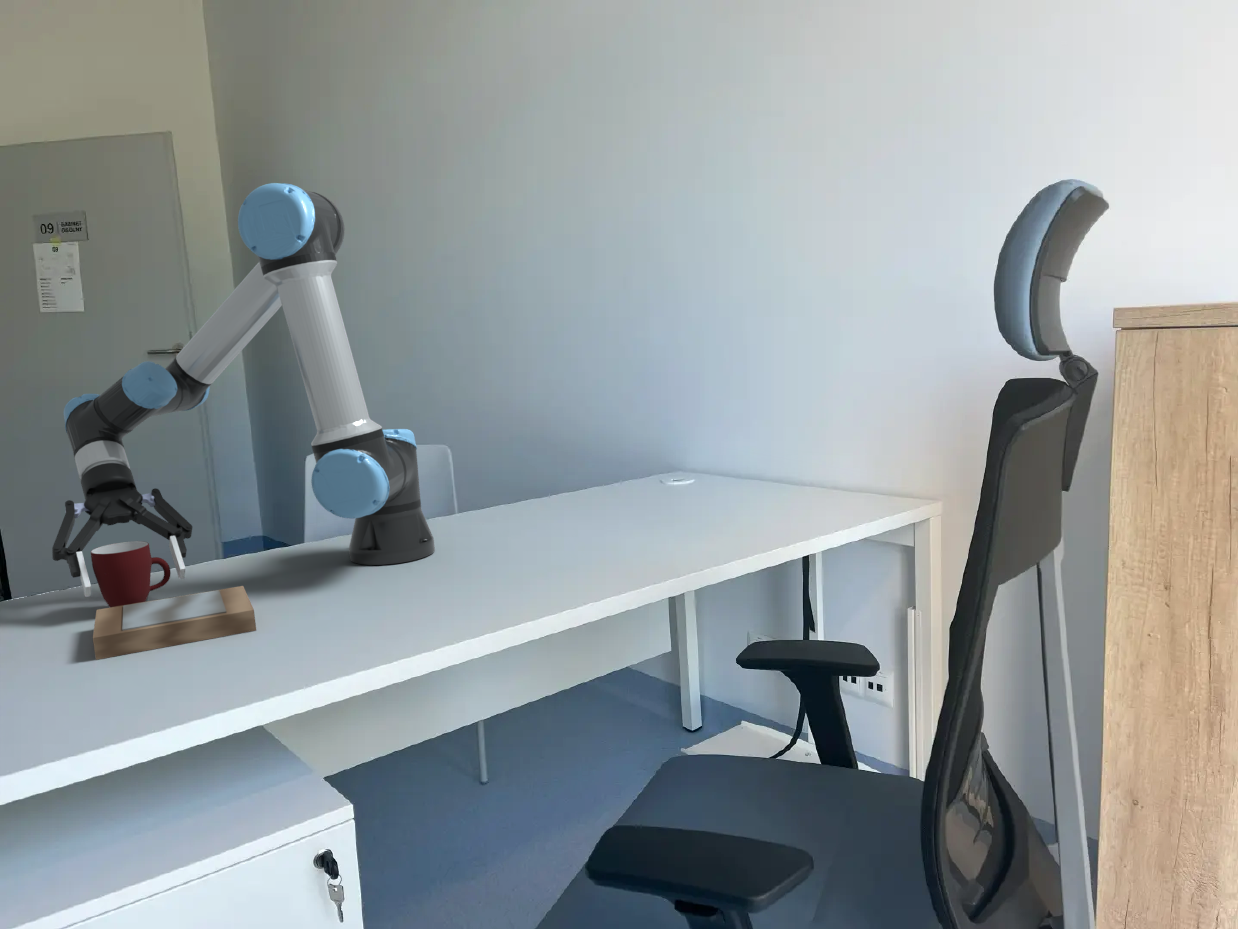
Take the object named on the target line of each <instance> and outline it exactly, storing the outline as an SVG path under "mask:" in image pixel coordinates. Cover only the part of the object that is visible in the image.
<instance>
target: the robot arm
mask: <svg viewBox="0 0 1238 929" xmlns="http://www.w3.org/2000/svg"><path fill="white" fill-rule="evenodd" d="M237 216H238V217H237V228H238V232H239V235H240V238H241V241H242V242H243V243H244V245H245V246H246V247H247V248H248V249H249V250H250V251H251V252H252V253H253V254H255V255H256V256H257V259H258V262H257V264H256V265H254V267H253V268H252V269H251V270H250V271H249V273H248V274H246V276H245V277H244V278H243V280H242V281H240V283H239V284H238V285H236V287H235V288H234V290H233V291H232V292H231V293H230V294H229V295H228V296H227V298H226V299H225V300H224V301H223V302H222V303H220V305H219V307H217V309H216V310H215V311H214V312H213V314H212V315H211V316H210V317H209V318H208V319H207V320H206V322H205V323H204V324H203V325H202V326H201V327H200V328H199V329H198V330H197V332H195V334H194V335H193V336H192V337H191V338H190V340H189V341H188V342H187V343H186V344H185V345H184V346H183V348H182V349H180V351H179V352H178V354H176V356H175V357H174V358H173V359H172V361H171V362H170V363H169V364H168V365H167V366H165V367H164V366H162V365H161V364H159V363H155V362H154V361H150V360H148V361H147V360H145V361H142V362H141V363H139V364H137V365H136V366H135V367H133V368H130V369H129V370H127V371H126V373H124V375H123V376H121V378H119V379H118V380H117V381H116V382H114V383H113V384H112V385H111V386H110V387H108V388H107V389H106V390H104V391H103V392H102V393H101V394H100V393H99V394H98V393H83V394H82V395H81V396H75V397H73V398H71V399H70V400H69V401H68V402H67V403H66V404H65V406H64V408H63V419H64V430H65V433H66V435H67V437H68V441H69V443H70V446H71V449H72V454H73V458H74V461H75V462H74V463H75V465H76V469H77V474H78V477H79V480H80V485H81V489H82V492H83V496H84V499H85V500H84V502H78V503H75V502H74V501H73V500H71V499H70V500H67V501H65V502H64V510H65V511H64V517H63V520H62V521H61V525H60V527H59V530H58V532H57V535H56V538H55V540H54V542H53V545H52V551H51V552H52V553H51V554H52V557H51V558H52V560H54V561H56V562H58V561H61V560H64V561H66V563H67V564H68V567H69V573H70V575H71V576H72V578H78V577H79V578H80V583H81V586H82V590H83V594H84V598H88V597H91V595H92V594H91V593H92V585H91V582H90V578H89V572H88V570H87V566H86V563H85V559H84V553H83V550H84V549H85V547H86V546H87V545H88V543H89V542H90V541H91V539H92V538H93V536H94V535H95V534H96V533H97V532H98V531H99V530H100V529H101V527H103V524H104V525H107V527H108V526H113V525H117V524H126V523H130V521H133V522H134V523H136V524H138V525H142V526H144V527H146V528H148V530H151V531H152V532H154V533H156V534H157V535H159V536H160V537H162V538H165V539H166V540H168V541H169V543H168V547H169V552H170V554H171V557H172V560H173V564H174V567H175V570H176V573H177V576H178V579H179V580H181V579H185V575H186V566H185V563H184V562H185V561H184V560H183V559H184V558H185V559H186V558H187V557H186V556H187V547H186V543H185V539H190V538H191V537H192V534H193V525H192V524H191V523H190V522H189V521H188V520H187V519H186V518H185V517H183V516H182V515H181V514H180V512H178V511H177V510H176V509H175V508H174V507H173V506H172V505H171V504H170V503H169V502H168V501H166V500H165V498H164V497H163V495H162V493H161V491H160V489H159V488H152V489H151V491H150V492H149V493H144V494H143V493H142V494H141V493H140V492H139V491H138V489H137V486H136V485H137V484H136V483H135V479H134V476H133V472H132V470H131V466H130V463H129V460H128V456H127V453H126V450H125V446H124V443H123V438H124V437H125V436H127V435H128V434H129V433H131V432H132V431H134V430H135V429H136V428H137V427H139V425H141V424H142V423H144V422H145V421H146V420H148V419H149V418H152V417H157V416H161V415H166V414H167V415H168V414H171V413H172V414H173V413H176V412H177V413H178V412H185V411H187V412H188V411H190V410H193V409H195V408H197V407H200V406H201V405H203V403H205V402H206V401H207V399H208V397H209V394H210V390H211V388H210V386H212V384H213V383H214V382H215V381H216V380H217V379H218V377H219V376H220V375H221V374H222V373H223V372H224V371H225V369H227V367H228V366H229V365H230V364H231V363H232V362H233V361H234V360H235V358H236V357H237V356H238V355H239V354H240V353H241V352H242V351H243V350H244V349H245V347H246V346H247V345H248V344H249V343H250V342H251V341H252V339H253V338H254V337H256V335H257V334H258V333H259V331H261V329H262V328H263V327H264V326H265V325H266V324H267V323H268V321H270V319H271V318H273V316H274V315H275V314H276V313H277V312H278V311H279V309H280V308H281V307H282V309H283V314H284V318H285V320H286V324H287V328H288V331H289V334H290V338H291V341H292V346H293V349H294V354H295V356H296V360H297V364H298V367H299V370H300V374H301V377H302V381H303V385H304V388H305V392H306V395H307V400H308V402H309V406H310V410H311V414H312V417H313V420H314V423H315V424H314V425H315V428H316V435H315V436H314V438H313V439H312V441H311V443H310V445H311V449H312V453H313V456H314V460H315V466H314V467H313V469H312V470H313V471H312V474H311V481H310V482H311V489H312V492H313V495H314V497H315V499H316V500H317V502H318V504H320V505H321V507H323V508H324V510H326V511H327V512H328V513H331V514H333V515H335V517H338V518H339V517H340V518H342V519H354V525H353V527H352V533H351V538H350V542H349V547H348V552H349V554H348V555H349V561H350V562H352V563H355V564H357V565H358V564H359V565H365V566H366V565H367V566H372V565H373V566H376V565H377V566H378V565H379V566H380V565H394V564H400V563H407V562H412V561H416V560H420V559H423V558H426V557H428V556H430V555H432V554H434V552H435V550H436V549H435V547H436V546H435V539H434V536H433V534H432V531H431V529H430V527H429V525H428V524H429V523H428V521H427V520H426V517H425V516H424V513H423V510H422V502H421V493H420V492H421V489H420V488H421V487H420V479H419V467H418V454H417V450H418V447H417V444H416V443H417V442H416V437H415V434H414V432H413V431H412V430H410V429H407V428H393V429H392V428H387V429H383V426H382V425H380V424H379V423H377V422H375V421H374V420H372V419H371V418H370V415H369V410H368V407H367V404H366V400H365V396H364V392H363V389H362V386H361V383H360V378H359V375H358V371H357V367H356V363H355V360H354V356H353V353H352V352H353V351H352V349H351V345H350V341H349V338H348V335H347V334H348V333H347V331H346V327H345V324H344V320H343V316H342V312H341V309H340V305H339V301H338V297H337V293H336V289H335V287H334V283H333V280H332V279H333V278H332V273H333V272H334V270H335V268H336V267H337V265H338V260H337V257H336V255H337V254H338V252H339V251H340V249H341V247H342V244H343V242H344V238H345V230H346V228H345V222H344V219H343V216H342V214H341V212H340V210H339V209H338V207H337V206H336V205H335V203H333V201H332V200H330V199H329V198H328V197H326V196H324V195H322V194H320V193H317V192H315V191H310V190H306V189H303V188H301V187H299V186H297V185H294V184H291V183H284V182H283V183H279V182H278V183H277V182H271V183H266V184H263V185H260V186H257V187H256V188H255V189H253V190H252V191H251V192H249V193H248V195H246V197H245V199H244V200H243V203H242V204H241V205H240V208H239V211H238V215H237ZM143 503H146V504H147V505H149V507H150V508H153V509H154V510H155V512H157V513H158V514H159V516H160V517H159V516H158V515H156V514H154V513H153V512H151V511H149V510H148V509H147V508H146V507H145V506H144V505H143ZM83 512H85V513H86V514H87V515H89V517H88V520H87V521H86V522H85V524H84V525H83V526H82V528H81V529H80V531H78V533H77V535H76V536H75V537H74V538H73V540H72V541H71V543H70V544H69V545H68V546H67V544H68V541H69V539H70V537H71V534H72V531H73V528H74V526H75V522H76V520H75V519H78V518H80V516H81V514H82V513H83ZM161 517H162V518H161Z"/></svg>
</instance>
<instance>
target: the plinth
mask: <svg viewBox="0 0 1238 929" xmlns="http://www.w3.org/2000/svg"><path fill="white" fill-rule="evenodd" d="M255 616H256V615H255V610H254V607H253V605H252V602H251V600H250V598H249V596H248V594H247V591H246V589H245V587H244V585H241V586H234V587H227V588H221V589H215V590H209V591H202V592H198V593H197V592H196V593H193V594H192V593H190V594H186V595H184V594H183V595H178V596H173V597H172V596H171V597H166V598H160V599H154V600H148V601H147V600H146V602H141V603H135V604H129V605H123V606H117V607H105V608H99V609H96V612H95V617H94V618H95V620H94V628H93V634H92V641H93V642H92V643H93V649H94V650H93V651H94V656H95V657H94V658H95V661H97V660H103V659H107V658H108V659H109V658H112V657H113V658H114V657H118V656H123V655H130V654H136V653H141V652H145V651H146V652H147V651H152V650H156V649H157V650H159V649H162V648H167V647H168V648H169V647H174V646H178V645H183V644H190V643H195V642H201V641H205V640H211V639H216V638H222V637H223V638H224V637H226V636H227V637H228V636H233V635H238V634H242V633H243V634H245V633H249V632H250V633H251V632H254V631H255V632H256V631H257V624H256V617H255Z"/></svg>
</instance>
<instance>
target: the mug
mask: <svg viewBox="0 0 1238 929" xmlns="http://www.w3.org/2000/svg"><path fill="white" fill-rule="evenodd" d="M90 558H91V565H92V570H93V573H94V576H95V579H96V583H97V584H98V588H99V592H101V596H102V598H103V600H104V602H105V603H106V604H107V606H108V608H110V607H117V606H123V605H129V604H135V603H141V602H147V599H148V596H149V594H150V592H152V591H155V590H157V589H161V588H163V587H164V586H165V585H166V584H167V583H168V582H169V581H170V579H171V574H172V572H171V568H170V565H169V563H168V562H167V561H166V560H165V559H164V558H161V557H156V556H155V557H154V556H153V557H152V555H151V548H150V543H149V542H147V541H140V540H137V541H136V540H135V541H125V542H118V543H117V542H116V543H110V544H106V545H102V546H99V547H95V548H94V549H91V551H90ZM152 565H158V566H160V567H161V568H162V569H163V577H162V579H161V580H160V581H159V582H158V583H156V584H152V585H151V576H152V575H151V574H152Z"/></svg>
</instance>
